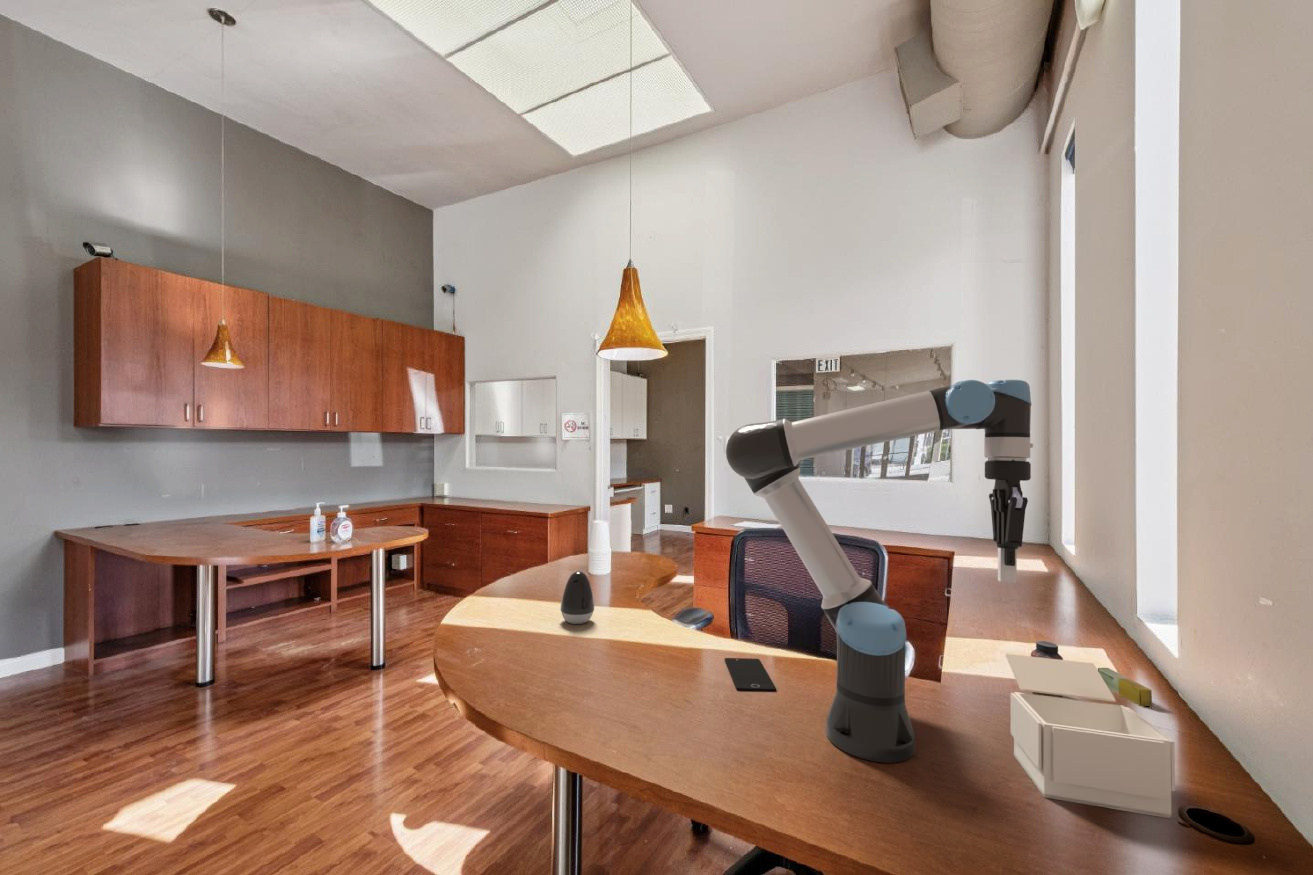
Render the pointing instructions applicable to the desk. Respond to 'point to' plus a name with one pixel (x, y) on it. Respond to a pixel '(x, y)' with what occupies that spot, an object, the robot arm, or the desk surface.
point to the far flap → (1059, 677)
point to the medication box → (1126, 687)
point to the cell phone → (749, 675)
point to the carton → (1093, 753)
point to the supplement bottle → (1046, 651)
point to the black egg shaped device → (577, 599)
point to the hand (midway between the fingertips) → (1007, 581)
